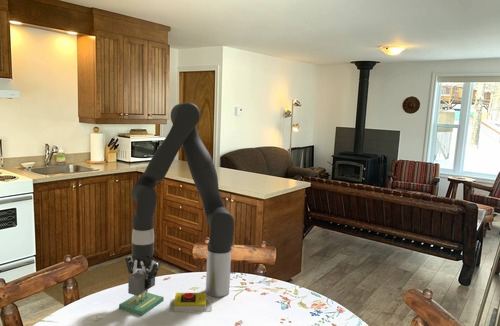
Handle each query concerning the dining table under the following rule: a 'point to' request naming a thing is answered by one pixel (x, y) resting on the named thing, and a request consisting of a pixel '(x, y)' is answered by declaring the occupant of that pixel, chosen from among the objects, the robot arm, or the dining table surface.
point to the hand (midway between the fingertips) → (142, 286)
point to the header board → (141, 303)
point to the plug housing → (138, 283)
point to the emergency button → (190, 303)
